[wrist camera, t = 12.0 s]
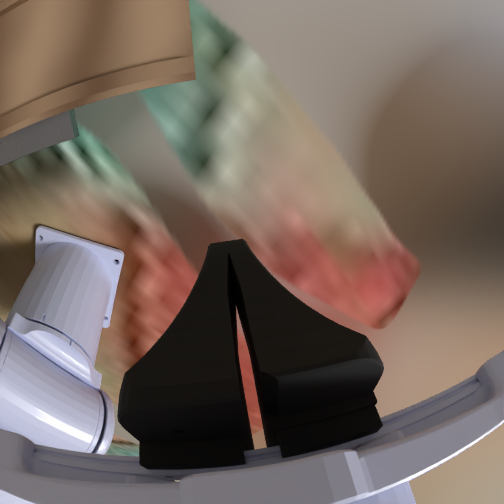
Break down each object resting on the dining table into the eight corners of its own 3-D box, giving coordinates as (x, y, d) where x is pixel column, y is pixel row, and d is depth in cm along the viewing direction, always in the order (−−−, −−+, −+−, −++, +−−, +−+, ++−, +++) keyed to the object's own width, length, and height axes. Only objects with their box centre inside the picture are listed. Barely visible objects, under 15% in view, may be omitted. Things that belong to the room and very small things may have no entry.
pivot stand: (-2, 165, 16) (-22, 180, 13) (-23, 20, 8) (-45, 20, 6) (78, 135, 16) (61, 146, 14) (61, -28, 9) (43, -38, 6)
